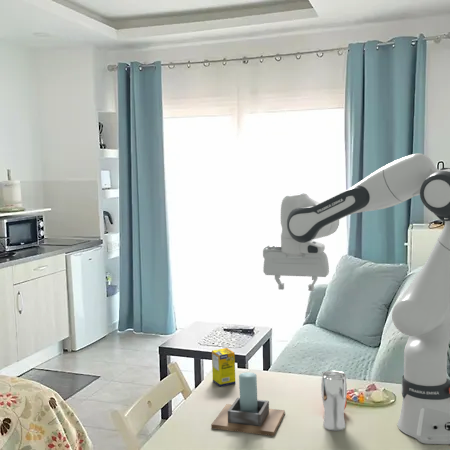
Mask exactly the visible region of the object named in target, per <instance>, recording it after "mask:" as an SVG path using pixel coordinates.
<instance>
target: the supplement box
mask: <svg viewBox="0 0 450 450" xmlns="http://www.w3.org/2000/svg"><path fill="white" fill-rule="evenodd" d="M235 355H236V354H235V352H234V351H233V350H231V349H229V348H228V347H224V348H223V347H222V348H220V349H214V350H211V365H212V366H211V367H212V382H213V383H214V384H216V385H217V386H218V387H226V386H230V385H235V384H236V359H235Z"/></svg>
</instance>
